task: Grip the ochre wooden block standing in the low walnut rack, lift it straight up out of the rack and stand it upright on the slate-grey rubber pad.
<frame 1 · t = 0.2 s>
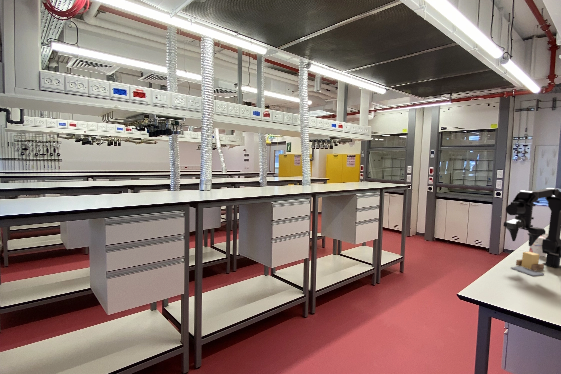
hand: (521, 243, 158), 14 cm above the table, tool pointing down, fingers open, 9 cm apart
ochre block: (529, 267, 163), on the table
slate pad: (526, 271, 156), on the table
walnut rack: (529, 267, 163), on the table
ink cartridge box: (537, 254, 188), on the table
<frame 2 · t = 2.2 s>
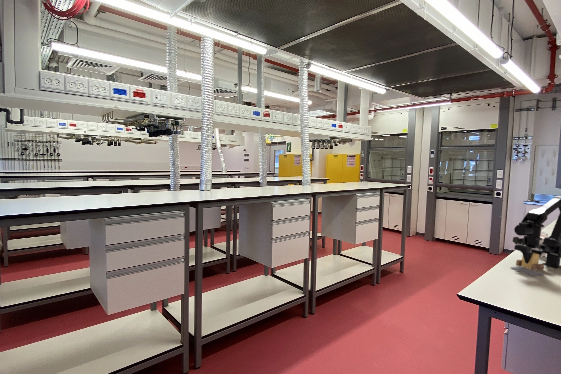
hand: (529, 262, 163), 3 cm above the table, tool pointing down, fingers closed on ochre block, 5 cm apart
ochre block: (529, 267, 163), on the table, touching gripper
everything else where it was.
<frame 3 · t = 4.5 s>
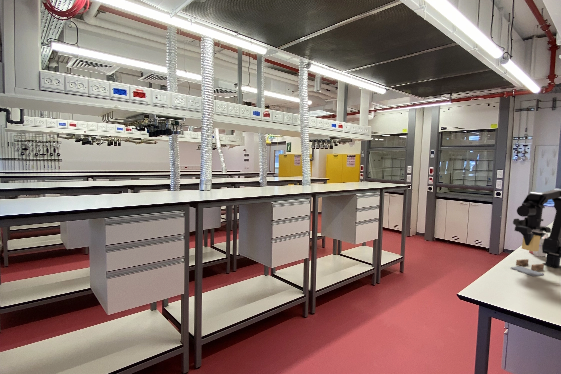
hand: (530, 245, 158), 13 cm above the table, tool pointing down, fingers closed on ochre block, 5 cm apart
ochre block: (529, 249, 158), point 11 cm above the table, touching gripper
everything else where it was.
when the fingers open (5 cm above the table, at t = 6.8 s): ochre block drops 2 cm, resting on slate pad.
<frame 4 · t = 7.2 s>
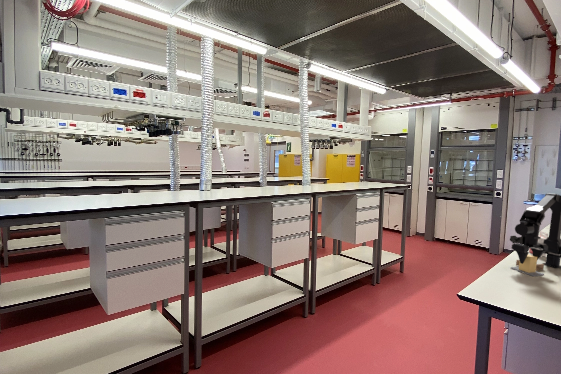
hand: (527, 262, 155), 5 cm above the table, tool pointing down, fingers open, 9 cm apart
ochre block: (526, 270, 156), point 1 cm above the table, touching slate pad
everything else where it was.
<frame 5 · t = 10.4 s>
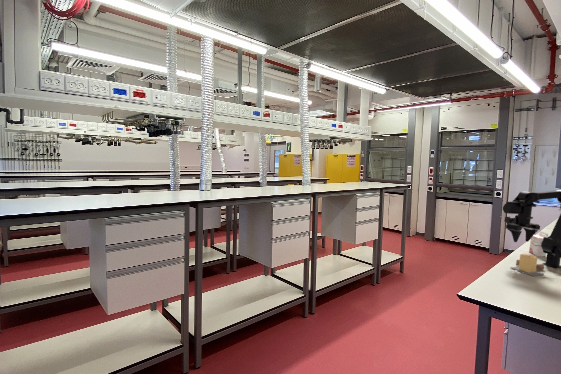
hand: (521, 241, 166), 13 cm above the table, tool pointing down, fingers open, 9 cm apart
nothing on the table moved.
at the end: ochre block 0.0 cm off-centre on the slate pad, point 0.6 cm above the slate pad's base; ochre block tilted 0°; the gripper is holding nothing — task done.
